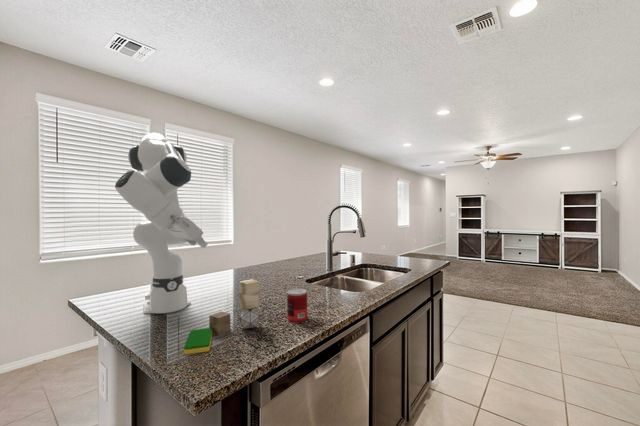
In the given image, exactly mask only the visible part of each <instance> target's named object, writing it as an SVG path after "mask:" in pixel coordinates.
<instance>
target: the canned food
mask: <svg viewBox="0 0 640 426" xmlns="http://www.w3.org/2000/svg"><path fill="white" fill-rule="evenodd" d="M286 292H287V293H286V299H287V300H286V304H287V306H286V307H287V308H286V309H287V310H286V312H287V315H286V317H287V321H289V322H290V323H297V324H298V323H303V322H305V321H306V320H308V319H307V318H308V291H307V289H304V288H293V289H292V288H291V289H289V290H287V291H286Z"/></svg>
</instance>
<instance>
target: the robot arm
mask: <svg viewBox="0 0 640 426" xmlns="http://www.w3.org/2000/svg"><path fill="white" fill-rule="evenodd" d="M127 157H128V159H127V160H128V163H129V165H130V166H131V168H132V169H130V170H127V171H126V172H125V173H124V174H122V175H121V176H120V177H119V179H117V181H116V182H115V185H114V188H115V190H116V192H117V193H118V194H119V195H120V197H122V198H123V199H124V200H125V201H126V202H127V203H128V204H129V205H130V206H131V207H132V208H133V209H135V210H136V211H138V212H140V213H142V214H143V216H144V217H145V218H146V220H147V221H144V222H143V221H142V222H139V223H138V224H136V225H135V227H134V228H133V234H132V235H133V239H134V241H135V243H137V245H139V246H140V247H142V248H143V249H145V251H147V253H148V254H149V255H150V257H151V260H152V267H153V277H152V281H151V282H152V283H151V286H152V287H151V288H150V290H149V292H148V294H145V295H144V299H145V302H144V303H143V314H167V313H168V314H169V313H174V312H178V311H180V310H181V311H182V309H185V308H186V307H187V306H190V305H191V302H192V301H190V300H188V291H187V289H188V288H187V285H185V284H184V275H183V271H182V270H183V260H182V257H181V256H180V255H179V254H177V253H175V252H172V251H170V250H169V247H168V246H171V245H182V244H187V243H188V244H190V245H191V246H196V244H198V246H199V247H201V248H203V249H204V248H206V247H207V246H208V242H207V241H205V239H204V237H203V234H204V232H203V230H202V229H201V228H200V227H199V225H197V224H196V223H195V222H194V221H193V220H191V218H188V217H187V215H186V214H185V213H184V212H183V211H184V210H183V209H182V208H181V206H180V203H179V198H178V189H179V188H181V187H183V186H184V185H186V184H187V183H189V182H190V181H191V179H192V170H191V169H190V167H189V165H188V164H187V160H188V159H187V158H188V157H187V153H186V152H185V150H184V148H183V146H181V145H176V144H171V143H170V142H168V140H167V138H165V137H164V136H163V135H162V134H160V133H157V132H151V133H148V134H146V135H145V136H143V137H142V139H141V141H140V142H139V144H136V145H135V146H132V147H131V148H130V149H129V151H128V156H127ZM144 171H146V172H145V173H141V172H144Z"/></svg>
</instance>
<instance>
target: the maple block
mask: <svg viewBox="0 0 640 426" xmlns="http://www.w3.org/2000/svg"><path fill="white" fill-rule="evenodd" d="M239 307H240V308H242V309H243V308H244V309H246V310H247V309H251V308H255V307H256V308H259V307H260V282H259V281H258V280H255V279H252V278H251V279H247V280H240V281H239Z"/></svg>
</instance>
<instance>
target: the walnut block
mask: <svg viewBox="0 0 640 426" xmlns="http://www.w3.org/2000/svg"><path fill="white" fill-rule="evenodd" d="M208 319H209V320H208V321H209V322H208V323H209V327H208V328H213V329H212V330H213V334H214V335H217V336H221V335H222V334H225V333H227V332H229V331H230V332H231V313H230V312H229V313H228V312H224V311H222V310H220V311H218V312H216V313H212V314H209V315H208ZM213 334H212V335H213Z"/></svg>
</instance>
